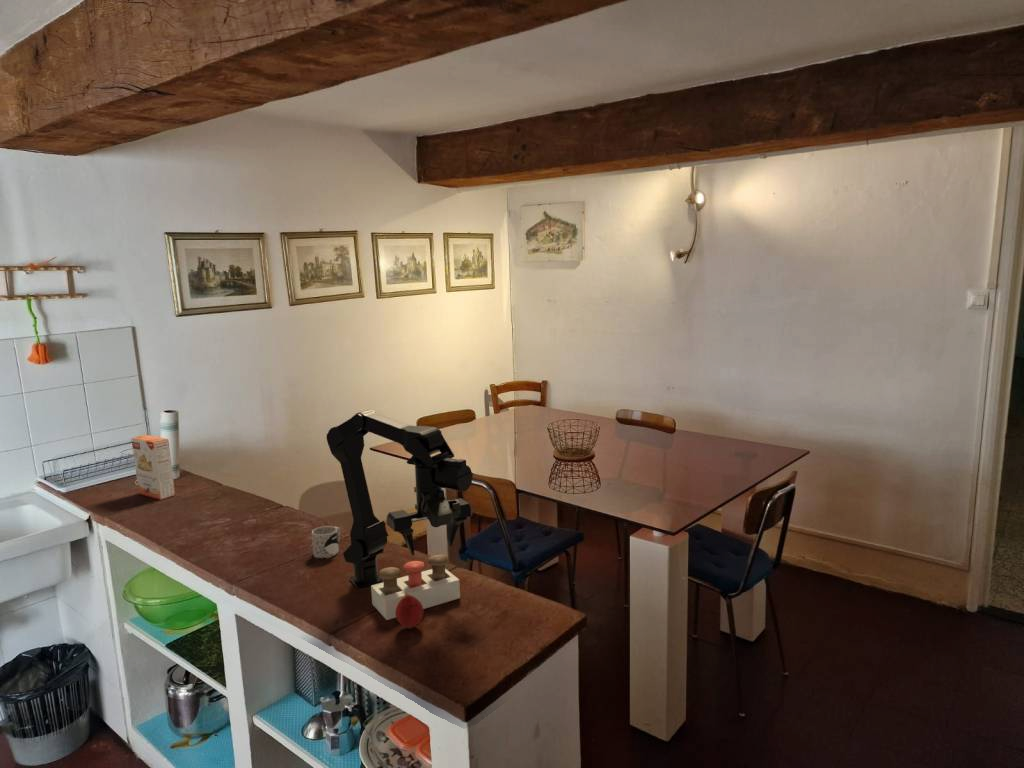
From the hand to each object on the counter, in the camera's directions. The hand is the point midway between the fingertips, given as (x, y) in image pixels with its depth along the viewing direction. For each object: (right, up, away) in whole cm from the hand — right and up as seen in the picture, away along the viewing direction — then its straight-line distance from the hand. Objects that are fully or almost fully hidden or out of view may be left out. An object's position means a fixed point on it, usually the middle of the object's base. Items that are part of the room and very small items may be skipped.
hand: (431, 550), depth 158 cm
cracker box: (-108, -2, +88) cm, 139 cm away
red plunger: (-4, -9, +1) cm, 10 cm away
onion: (-3, -14, -10) cm, 18 cm away
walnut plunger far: (+1, -8, +4) cm, 9 cm away
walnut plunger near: (-9, -10, -2) cm, 13 cm away
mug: (-32, -8, +33) cm, 46 cm away
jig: (-4, -12, +2) cm, 13 cm away
